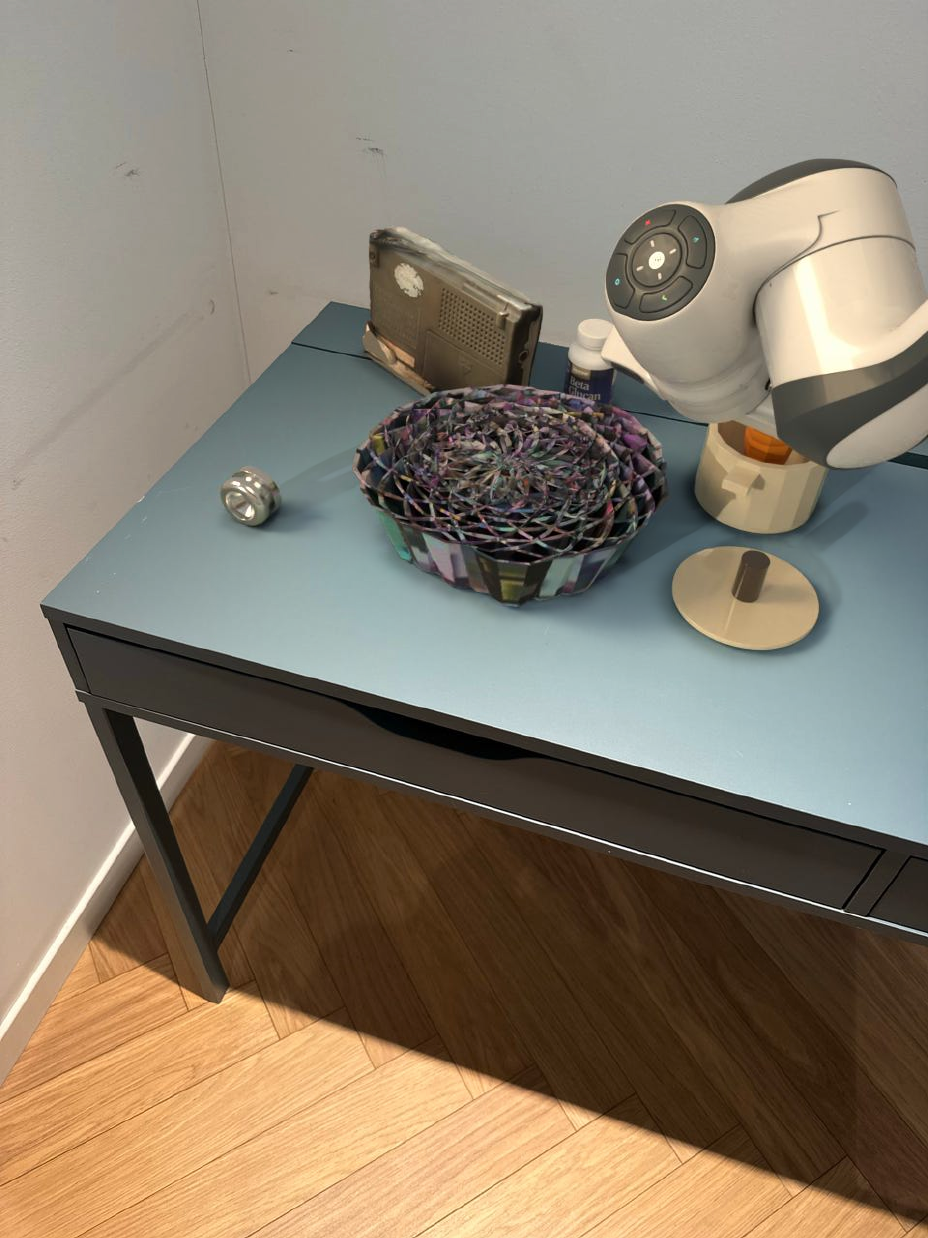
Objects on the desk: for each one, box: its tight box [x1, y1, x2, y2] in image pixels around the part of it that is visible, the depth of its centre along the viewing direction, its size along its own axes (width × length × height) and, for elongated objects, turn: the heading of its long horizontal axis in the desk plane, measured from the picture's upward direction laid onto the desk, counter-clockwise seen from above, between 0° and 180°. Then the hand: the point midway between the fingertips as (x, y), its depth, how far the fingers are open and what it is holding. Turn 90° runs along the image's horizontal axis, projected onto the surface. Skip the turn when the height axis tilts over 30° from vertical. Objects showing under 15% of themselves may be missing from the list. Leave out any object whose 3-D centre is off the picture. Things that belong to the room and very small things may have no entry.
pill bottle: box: [563, 318, 618, 406], centre depth 102 cm, size 5×5×10 cm
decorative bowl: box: [351, 384, 670, 608], centre depth 87 cm, size 26×28×10 cm
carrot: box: [744, 426, 793, 465], centre depth 90 cm, size 5×5×15 cm
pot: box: [694, 420, 830, 535], centre depth 93 cm, size 12×17×8 cm
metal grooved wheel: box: [219, 465, 282, 526], centre depth 89 cm, size 5×3×5 cm, turn 64°
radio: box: [362, 225, 544, 397], centre depth 103 cm, size 23×9×15 cm, turn 38°
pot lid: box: [671, 545, 820, 651], centre depth 83 cm, size 13×13×5 cm
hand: (749, 417), depth 83 cm, fingers open, 8 cm apart
